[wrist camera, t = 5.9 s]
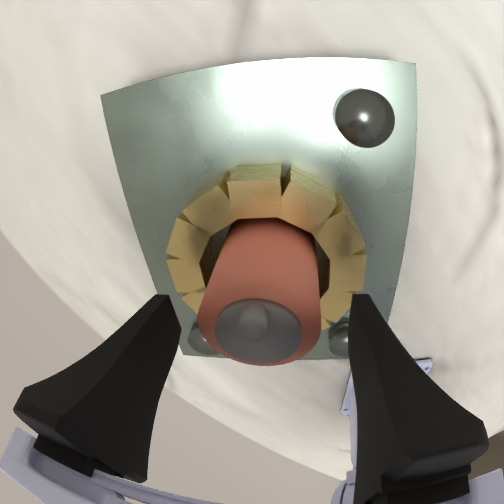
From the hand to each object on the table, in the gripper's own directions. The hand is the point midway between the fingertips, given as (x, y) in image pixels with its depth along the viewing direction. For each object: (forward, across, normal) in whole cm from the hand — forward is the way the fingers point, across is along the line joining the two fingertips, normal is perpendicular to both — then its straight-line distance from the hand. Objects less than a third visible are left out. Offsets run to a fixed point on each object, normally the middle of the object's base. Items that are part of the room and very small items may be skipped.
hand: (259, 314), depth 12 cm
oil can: (+6, 0, 0) cm, 6 cm away
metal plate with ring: (+7, 0, 0) cm, 7 cm away
